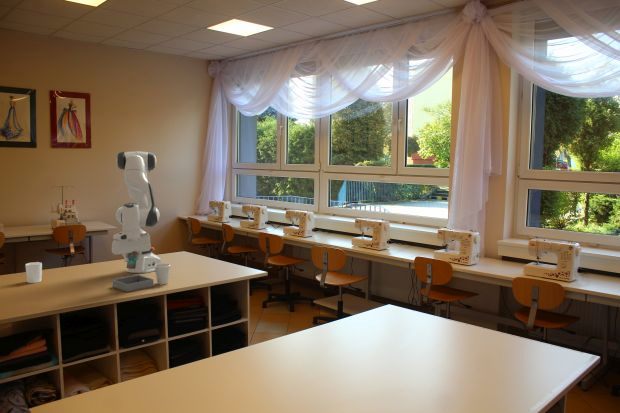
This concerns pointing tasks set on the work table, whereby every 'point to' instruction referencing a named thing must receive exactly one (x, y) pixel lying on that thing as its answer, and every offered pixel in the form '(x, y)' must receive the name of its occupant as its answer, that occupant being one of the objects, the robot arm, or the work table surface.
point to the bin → (132, 283)
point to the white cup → (34, 272)
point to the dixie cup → (162, 273)
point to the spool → (132, 260)
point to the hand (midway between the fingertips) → (132, 260)
